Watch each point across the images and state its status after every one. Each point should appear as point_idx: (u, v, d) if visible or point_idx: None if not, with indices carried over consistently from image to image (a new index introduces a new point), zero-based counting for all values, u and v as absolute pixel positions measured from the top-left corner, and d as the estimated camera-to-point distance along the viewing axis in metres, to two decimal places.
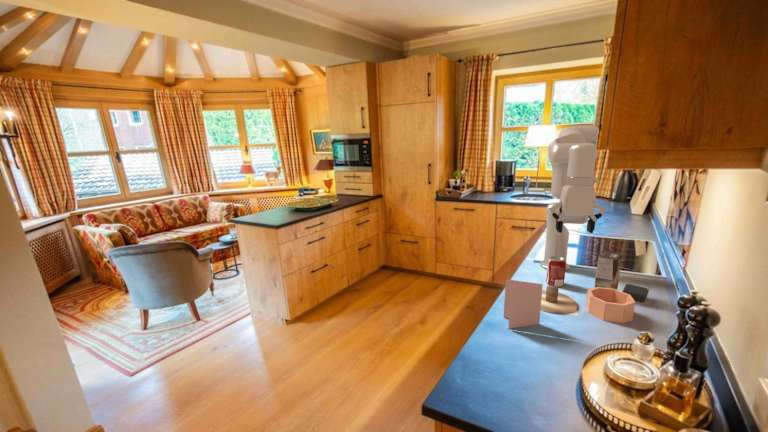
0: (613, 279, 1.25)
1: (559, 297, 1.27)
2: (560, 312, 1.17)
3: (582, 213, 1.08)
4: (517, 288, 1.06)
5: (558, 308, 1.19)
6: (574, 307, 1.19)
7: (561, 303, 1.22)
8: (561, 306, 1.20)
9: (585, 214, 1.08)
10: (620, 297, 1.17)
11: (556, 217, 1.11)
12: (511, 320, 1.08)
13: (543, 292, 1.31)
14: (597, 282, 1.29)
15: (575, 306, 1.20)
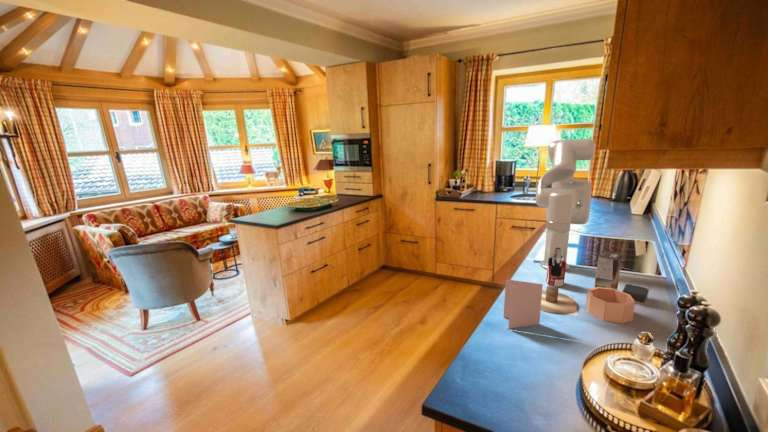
0: (613, 279, 1.25)
1: (559, 297, 1.27)
2: (560, 312, 1.17)
3: None
4: (517, 288, 1.06)
5: (558, 308, 1.19)
6: (574, 307, 1.19)
7: (561, 303, 1.22)
8: (561, 306, 1.20)
9: None
10: (620, 297, 1.17)
11: (559, 263, 1.14)
12: (511, 320, 1.08)
13: (543, 292, 1.31)
14: (597, 282, 1.29)
15: (575, 306, 1.20)
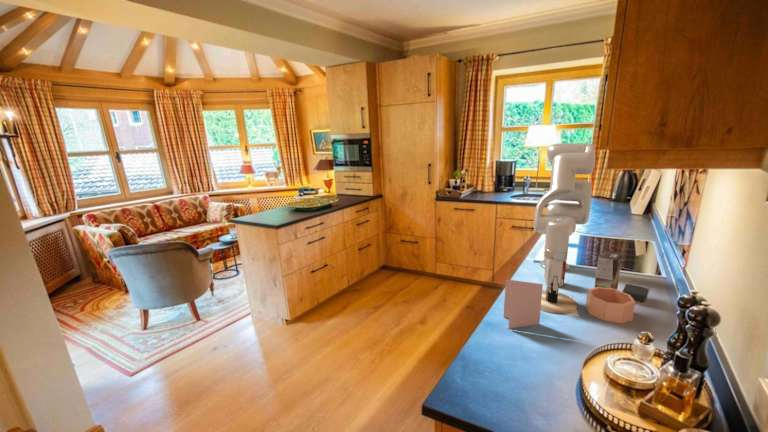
0: (613, 279, 1.25)
1: (559, 297, 1.27)
2: (560, 312, 1.17)
3: None
4: (517, 288, 1.06)
5: (558, 308, 1.19)
6: (574, 307, 1.19)
7: (561, 303, 1.22)
8: (561, 306, 1.20)
9: None
10: (620, 297, 1.17)
11: (556, 291, 1.20)
12: (511, 320, 1.08)
13: (543, 292, 1.31)
14: (597, 282, 1.29)
15: (575, 306, 1.20)
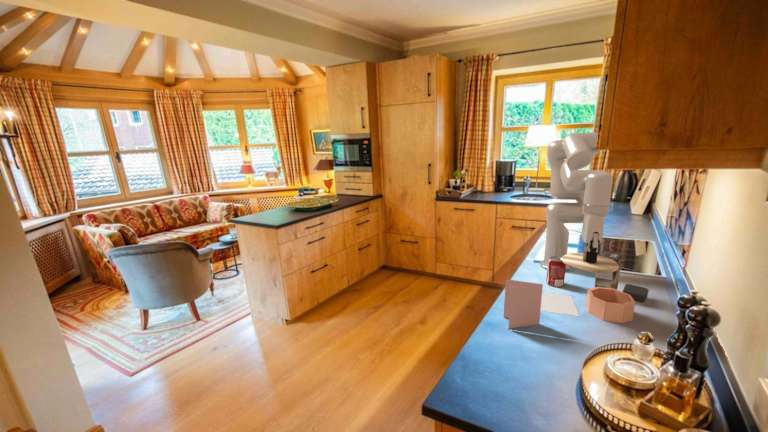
0: (613, 279, 1.25)
1: (597, 258, 1.18)
2: (601, 271, 1.08)
3: None
4: (517, 288, 1.06)
5: (598, 267, 1.10)
6: (616, 267, 1.10)
7: (600, 263, 1.13)
8: (601, 266, 1.11)
9: None
10: (620, 297, 1.17)
11: None
12: (511, 320, 1.08)
13: (579, 254, 1.22)
14: (597, 282, 1.29)
15: (617, 266, 1.11)
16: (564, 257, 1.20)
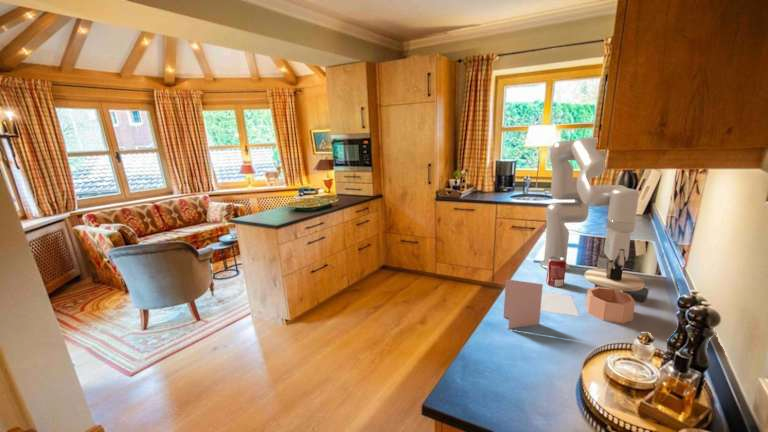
0: None
1: None
2: (628, 289, 1.05)
3: None
4: (517, 288, 1.06)
5: (624, 285, 1.07)
6: (642, 284, 1.08)
7: (625, 280, 1.11)
8: (627, 283, 1.09)
9: None
10: (620, 297, 1.17)
11: None
12: (511, 320, 1.08)
13: (601, 270, 1.20)
14: None
15: (642, 283, 1.08)
16: (587, 273, 1.17)
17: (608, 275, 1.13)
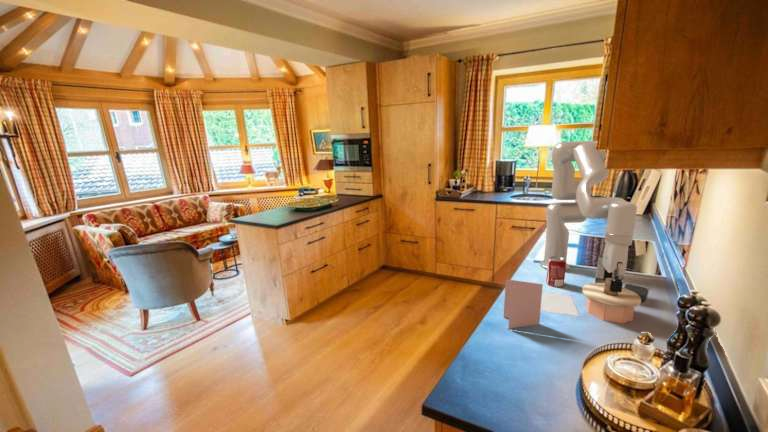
0: None
1: None
2: (625, 306, 1.07)
3: None
4: (517, 288, 1.06)
5: (621, 301, 1.09)
6: (638, 300, 1.09)
7: (622, 296, 1.13)
8: (624, 299, 1.10)
9: None
10: None
11: None
12: (511, 320, 1.08)
13: (599, 285, 1.21)
14: (597, 282, 1.29)
15: (639, 299, 1.10)
16: (584, 288, 1.19)
17: (605, 291, 1.15)
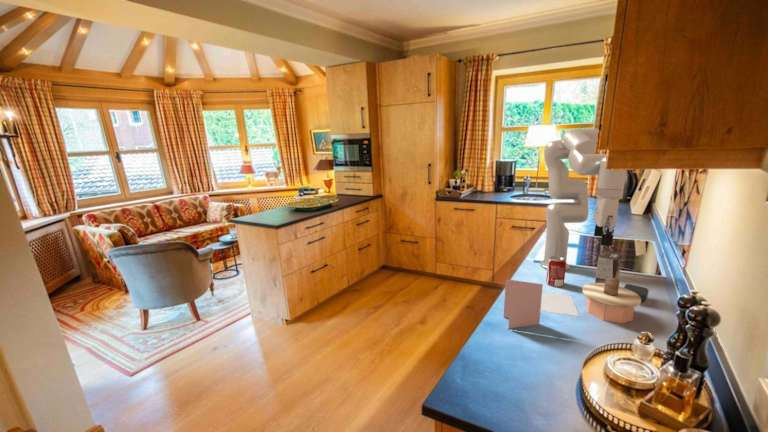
0: None
1: (618, 290, 1.17)
2: (625, 306, 1.07)
3: None
4: (517, 288, 1.06)
5: (621, 301, 1.09)
6: (638, 300, 1.09)
7: (622, 296, 1.13)
8: (624, 299, 1.10)
9: None
10: None
11: None
12: (511, 320, 1.08)
13: (599, 285, 1.21)
14: (597, 282, 1.29)
15: (639, 299, 1.10)
16: (584, 288, 1.19)
17: (605, 291, 1.15)
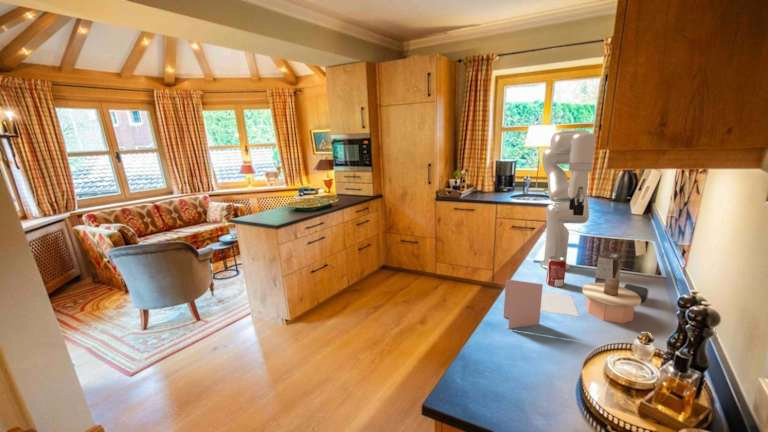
0: None
1: (618, 290, 1.17)
2: (625, 306, 1.07)
3: None
4: (517, 288, 1.06)
5: (621, 301, 1.09)
6: (638, 300, 1.09)
7: (622, 296, 1.13)
8: (624, 299, 1.10)
9: None
10: None
11: (582, 202, 1.18)
12: (511, 320, 1.08)
13: (599, 285, 1.21)
14: (597, 282, 1.29)
15: (639, 299, 1.10)
16: (584, 288, 1.19)
17: (605, 291, 1.15)
